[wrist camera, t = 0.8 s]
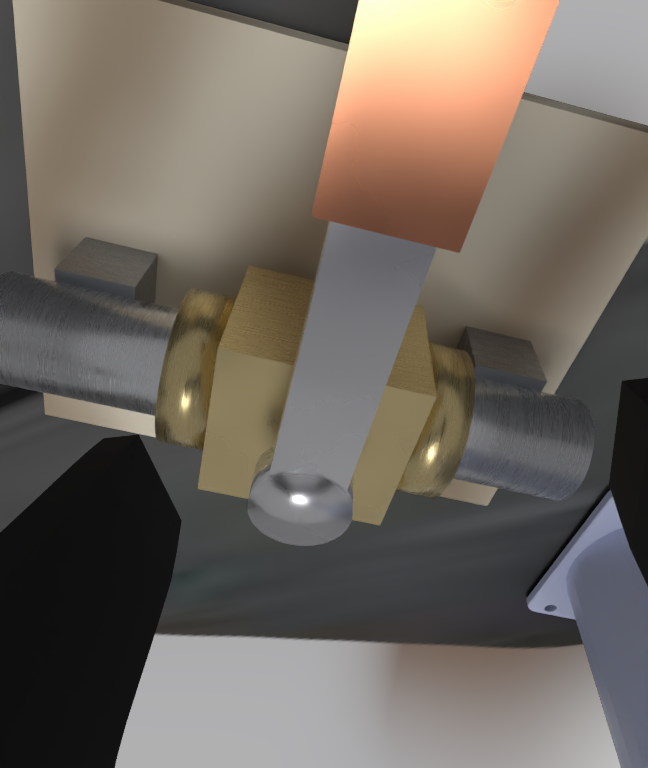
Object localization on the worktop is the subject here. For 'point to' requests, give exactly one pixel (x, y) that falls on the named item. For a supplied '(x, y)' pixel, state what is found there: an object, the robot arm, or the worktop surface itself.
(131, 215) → the mounting board
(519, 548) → the worktop surface
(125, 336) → the valve pipe
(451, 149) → the valve lever
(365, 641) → the worktop surface
